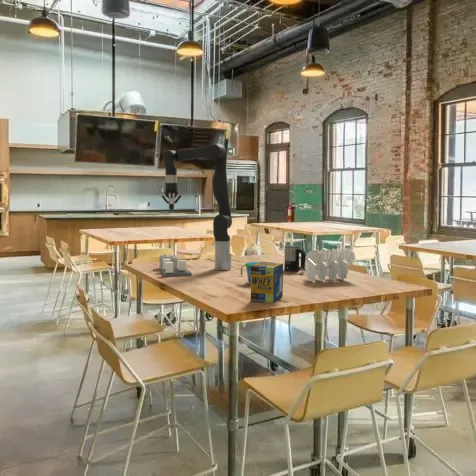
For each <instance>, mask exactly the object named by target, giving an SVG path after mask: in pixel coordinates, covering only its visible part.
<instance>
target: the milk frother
mask: <svg viewBox="0 0 476 476" xmlns="http://www.w3.org/2000/svg"><path fill="white" fill-rule="evenodd" d="M283 247H284V265H283V272H284V271H285V272H299V271H300V270H301V269H305V264H306V259H307V255H306V251H305V250H304V249H303V248H300V245H296V244H295V245H293V244H291V245H283Z"/></svg>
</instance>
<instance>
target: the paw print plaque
mask: <svg viewBox="0 0 476 476" xmlns="http://www.w3.org/2000/svg"><path fill="white" fill-rule="evenodd" d="M163 259H170V260H171V262H173V268H178V260H179V258H178V256H177V255H176V254H171V253H168V254H166V253H165V254H161V255H160V256H159V270H161V269H163Z"/></svg>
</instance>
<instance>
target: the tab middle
mask: <svg viewBox="0 0 476 476" xmlns="http://www.w3.org/2000/svg"><path fill="white" fill-rule="evenodd" d="M186 268H187V260H186V259H178V270H179V271H181V270H186Z"/></svg>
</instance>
